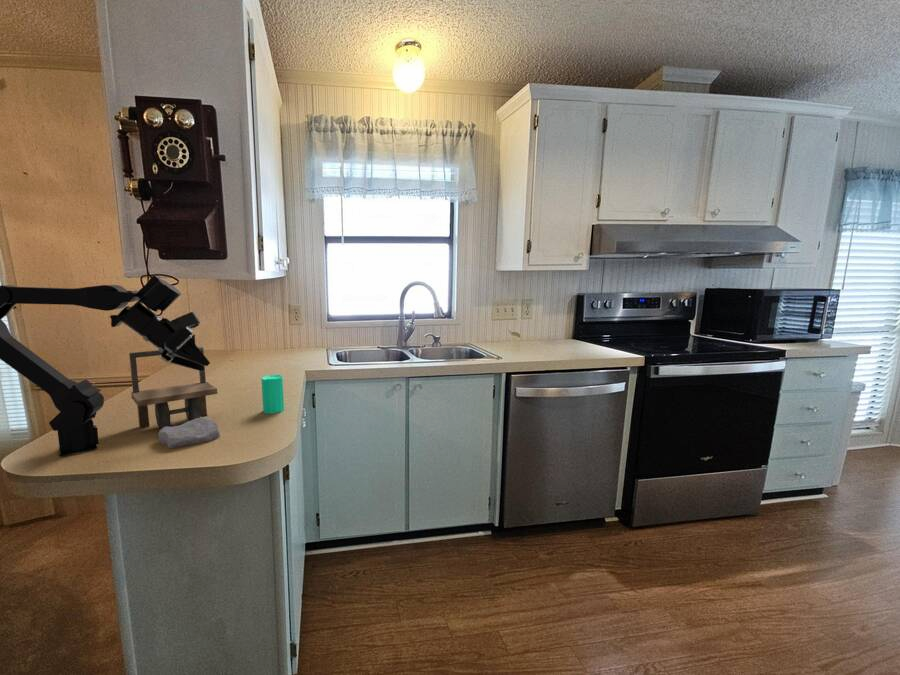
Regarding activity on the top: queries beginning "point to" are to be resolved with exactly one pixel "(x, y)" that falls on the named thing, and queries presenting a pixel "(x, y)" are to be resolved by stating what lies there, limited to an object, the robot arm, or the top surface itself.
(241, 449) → the top surface
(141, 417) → the wooden chair
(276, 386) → the candle
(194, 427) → the stone block
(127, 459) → the top surface
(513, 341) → the top surface
